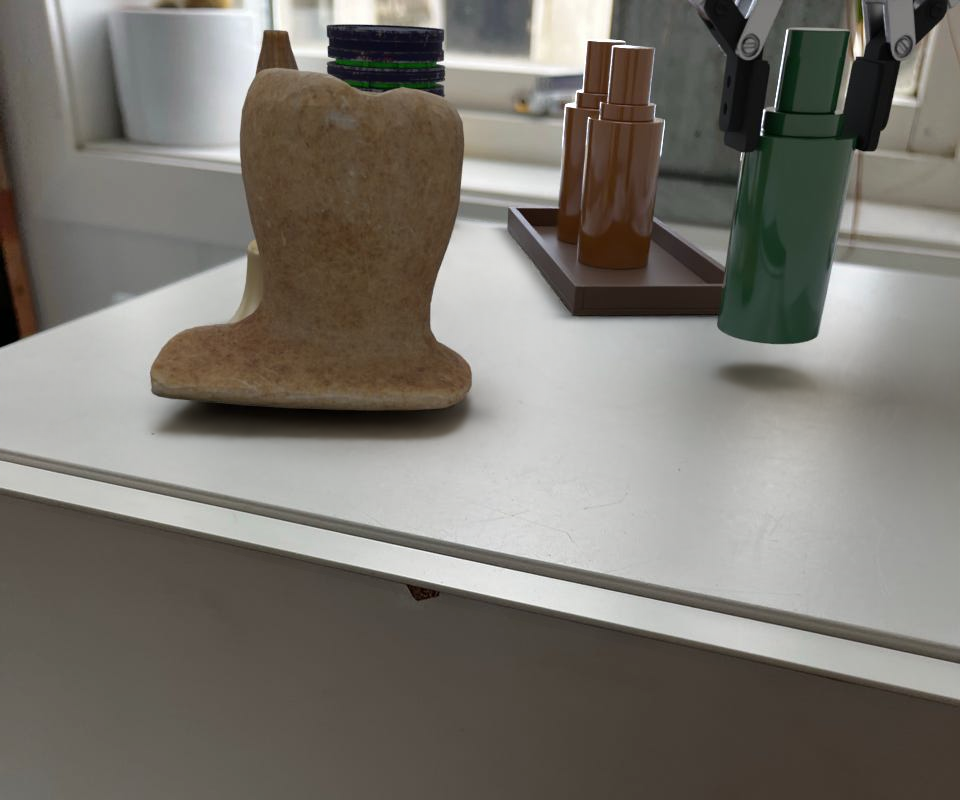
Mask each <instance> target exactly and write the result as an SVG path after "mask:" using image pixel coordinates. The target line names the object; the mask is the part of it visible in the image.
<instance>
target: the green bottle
mask: <svg viewBox="0 0 960 800" xmlns="http://www.w3.org/2000/svg"><path fill="white" fill-rule="evenodd" d="M851 34H852V32H851V30H850V29H847V28H833V27H788V28H787V29H786V31H785V37H784V38H785V39H784V45H783V51H782V57H781V62H780V63H781V64H780V69H779V76H778V83H777V89H776V95H775V96H776V97H775V101H774V106H767V107H764V112H763V119H762V125H761V132H760V138H759V145H758V148H757V149H756V150H754V151H753V152H741V154H740V161H739V168H738V176H737V181H736V182H737V183H736V190H735V197H734V203H733V210H732V215H731V216H732V218H731V224H730V231H729V239H728V245H727V252H726V257H725V258H726V259H725V265H724V267H725V272H724V279H723V286H722V293H721V300H720V307H719V314H717V322H716V326H717V329H718V330H719V331H720V332H722V333H723V334H725V335H727V336H730V337H732V338H735V339H738V340H742V341H745V342H752V343H757V344H767V345H794V344H803V343H807V342H810V341H813V340H815V339H817V338H818V336H819V334H820V331H821V330H820V329H821V324H822V319H823V314H824V309H825V305H826V300H827V294H828V290H829V284H830V279H831V274H832V270H833V266H834V265H833V264H834V259H835V254H836V249H837V244H838V239H839V234H840V230H841V224H842V219H843V214H844V209H845V205H846V204H845V203H846V199H847V195H848V189H849V185H850V180H851V174H852V169H853V164H854V160H855V154H856V150H857V149H856V145H857V140H858V135H857V134H855V133H853V132H850V131H845V130H843V126H844V121H845V116H846V112H845V111H843V109H838V108H837V107H838V101H839V97H840V91H841V86H842V81H843V76H844V75H843V74H844V69H845V65H846V59H847V54H848V49H849V43H850V37H851Z"/></svg>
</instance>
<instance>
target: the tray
mask: <svg viewBox="0 0 960 800" xmlns="http://www.w3.org/2000/svg"><path fill="white" fill-rule="evenodd" d="M557 214H558V206H508V207H507V227H506V229H507V231H508V232H509V233H510V235H511V236H512V238H513V239H514V240H515V242H517V244H518V245H519V247H520V248H521V249H522V250H523V252H524V253H525V254H526V256H527V257H528V258H529V260H530V261H531V262H532V264H533V265H534V266H535V268H536V269H537V270H538V271H539V273H540V274H541V276H542V277H543V278H544V279H545V281H546V282H547V283H548V284H549V286H550V287H551V288H552V290H553V291H554V293H556V295H557V296H558V297H559V299H560V300H561V301H562V302H563V304H564V305H565V307H566V308H567V309H568V310H569V312H570V313H571V314H572V315H573V316H654V315H655V316H666V315H667V316H668V315H669V316H673V315H675V316H676V315H687V316H689V315H694V316H695V315H697V316H698V315H718V314H719V307H720V300H721V293H722V286H723V279H724V272H725V265H723V264H722V263H720V262H719V261H718V260H716V259H715V258H714V257H712V256H711V255H709V254H708V253H706V252H705V251H704V250H702V249H701V248H699V247H698V246H696V245H695V244H693V242H691V241H689V240H688V239H687V238H685V237H683V235H681V234H679V233H678V232H677V231H675V230H674V229H672V228H671V227H670V226H668V225H666V224H665V223H664V222H662V221H661V220H660V219H658V218H657V217H655V216H654V217H653V225H652V233H651V242H650V250H649V258H648V264H647V265H646V266H644V267H641V268H636V269H622V270H619V269H604V268H597V267H592V266H588V265H585V264H582V263H580V262H578V261H577V258H576V257H577V244H571V243H566V242H563V241H560V240H559V239H557V238H556V228H557Z"/></svg>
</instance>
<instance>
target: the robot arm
mask: <svg viewBox="0 0 960 800" xmlns="http://www.w3.org/2000/svg"><path fill="white" fill-rule="evenodd" d="M687 1H688V2H689V4H690V5H691V6H693V8H694V9H695V10H696V12H697V14H698V17H699V18H700V19H701V22H703V24H704V25H705V26H706V28H707V30H708V31H709V32H710V34H711V35H712V37H713V38H714V39H715V41H716V42H717V44H718V48H719V51H720V52H721V54H723V55H724V56H725V57H726V60H725V67H724V75H723V82H722V91H721V99H720V107H719V112H718V113H719V115H718V128H719V130H720V131H721V132H723V143H724V144H723V145H724V146H726V147H728V148H730V149H733V150H734V151H737V152H740V153H742V152H753V151H754V150H756V149H757V148H758V145H759V138H760V132H761V126H762V120H763V113H764V109H765V105H766V99H767V91H768V85H769V78H770V72H771V65H770V63H769V60H766V59H763V55H764V48H765V43H766V41H767V38H768V36H769V35H770V32H771V30H772V27H773V25H774V22H775V20H776V18H777V16H778V14H779V11H780V9H781V7H782V5H783V3H784V0H735V1H734V0H687ZM959 3H960V0H861V7H862V17H863V18H862V19H863V29H864V39H865V46H864V52H863V56H862V55H861V56H855V59H854V60H853V61H852V64H851V67H850V73H849V78H848V84H847V89H846V93H845V98H844V105H843V109H842V111H845V112H846V116H845V121H844V126H843V130H845V131H850V132H853V133H855V134H857V135H858V140H857V145H856V150H857V151H860V152H863V153H865V152H868V153H869V152H870V153H871V152H872V153H873V152H876V150H877V149H878V146H879V142H880V137H881V133H882V132H883V131H884V130H885V129H886V128H887V125H888V122H889V119H890V115H891V109H892V105H893V102H894V101H893V100H894V96H895V91H896V88H897V87H896V86H897V83H898V82H897V81H898V77H899V72H900V69H901V68H900V67H901V62H903V61H906V60H908V59H910V57H911V56H912V55H913V53H914V52H915V49H916V45H918V44H919V42H921V41H922V40H923V39H924V38H925V37H926V36H927V35H928V34H929V33H930V32H931V31H932V30H934V28H935V27H936V26H937V25H938V24H939V23H940V22H942V20H943V19H944V18H945V16H946V14H947V12H949V10H950V9H954V7H956V6H957V5H958V4H959Z"/></svg>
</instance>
